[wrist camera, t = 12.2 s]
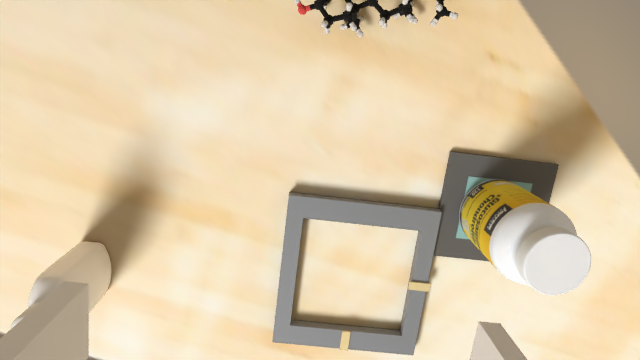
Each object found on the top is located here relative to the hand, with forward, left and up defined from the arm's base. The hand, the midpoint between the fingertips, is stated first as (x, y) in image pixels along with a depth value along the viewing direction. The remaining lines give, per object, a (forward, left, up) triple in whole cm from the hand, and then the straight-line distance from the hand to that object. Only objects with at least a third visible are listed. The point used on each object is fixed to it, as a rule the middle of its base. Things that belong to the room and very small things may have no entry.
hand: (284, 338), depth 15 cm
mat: (+2, +19, -27) cm, 33 cm away
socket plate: (+10, +7, -27) cm, 29 cm away
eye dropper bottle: (+12, -18, -27) cm, 35 cm away
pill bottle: (+2, +18, -26) cm, 32 cm away
